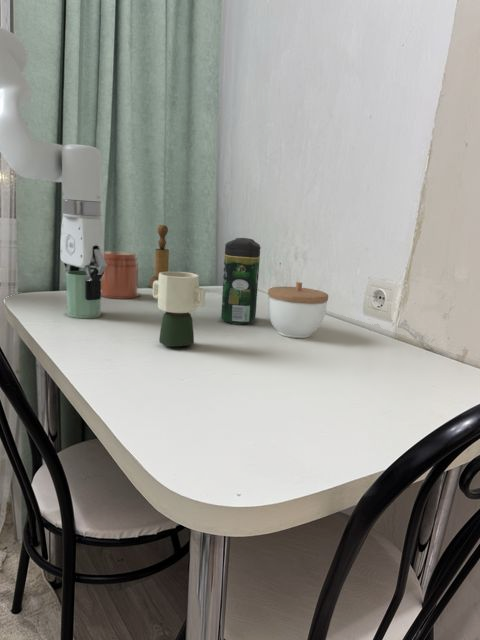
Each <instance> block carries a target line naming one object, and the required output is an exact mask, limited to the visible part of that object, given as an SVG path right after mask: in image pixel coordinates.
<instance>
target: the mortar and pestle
mask: <svg viewBox="0 0 480 640" xmlns="http://www.w3.org/2000/svg"><path fill="white" fill-rule="evenodd" d="M156 231H157V234H158V237H159V240H158V241H157V242H158V248H155V249H154V276H152V277H151V278H150V279H149V287H150V288H151V289H153V282H154V281H156V280H157V281H159V273H161V272H169V260H170V259H169V258H170V257H169V256H170V255H169V254H170V249H168V248H166V244H167V240H166V236H167V234H168V232H169V228H168V226H167V225H166V224H159V225H158V226H157V230H156Z"/></svg>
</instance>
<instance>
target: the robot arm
mask: <svg viewBox="0 0 480 640" xmlns="http://www.w3.org/2000/svg"><path fill="white" fill-rule="evenodd" d="M28 61H29V59H28V53H27V49H26V46H25V45H24V43H23V42H22V40H21V39H20V38H19V37H18V36H17V34H15V33H13V32H11V31H9V30H8V29H5V28H4V27H1V26H0V154H1V155H2V157H3V159H4V160H5V162H6V163H7V165H8V166H9V167H10V168H11V170H12V171H13V172H14V173H15V174H17V175H18V176H20V177H21V178H24V179H26V180H27V179H28V180H33V181H34V180H35V181H46V182H52V183H61V187H62V189H61V190H62V220H61V228H60V246H59V247H60V255H59V257H60V260H61V262H62V263H63V265H64V267H65V273H66V272H68V271H82V269H83V268H84V271H85V272H86V276H87V280H88V281H85V289H86V300H98V299H101V300H102V296H101V281H102V276H103V274H104V270H105V268H106V266H107V264H106V262H105V260H104V252H105V245H104V231H103V224H102V219H103V169H102V168H103V167H102V166H103V163H102V162H103V159H102V158H103V157H102V152H101V151H100V149H99V148H97V147H95V146H91V145H86V144H78V143H69V144H68V143H67V144H65V145H64V144H60V143H55V142H50V141H47V140H42V139H38V138H34V137H33V136H32V134H31V132H30V130H29V129H28V127H27V125H26V124H25V121H24V120H23V118H22V116H21V113H20V111H19V110H20V109H22V108H23V107H25V106H26V105H27V104H28V102H30V100H31V98H32V94H33V93H32V92H33V91H32V88H31V86H30V84H29V82H28V80H27V79H26V77H25V76H24V72H25V71H26V69H27V66H28ZM91 270H92V271H93V272H92V274H91Z"/></svg>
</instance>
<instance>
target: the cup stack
mask: <svg viewBox="0 0 480 640" xmlns="http://www.w3.org/2000/svg"><path fill="white" fill-rule="evenodd" d="M104 260H105V262H106V264H107V266H106V268H105V270H104V274H103V276H102V281H101V297H102V298H106V299H115V300H131V299H136V298H138V297H139V292H138V287H139V286H138V281H139V280H138V279H139V278H138V277H139V263H138V257H137V256H136V253H134V252H130V251H123V250H121V251H120V250H119V251H118V250H108V251H107V250H106V251H105V250H104Z"/></svg>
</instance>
